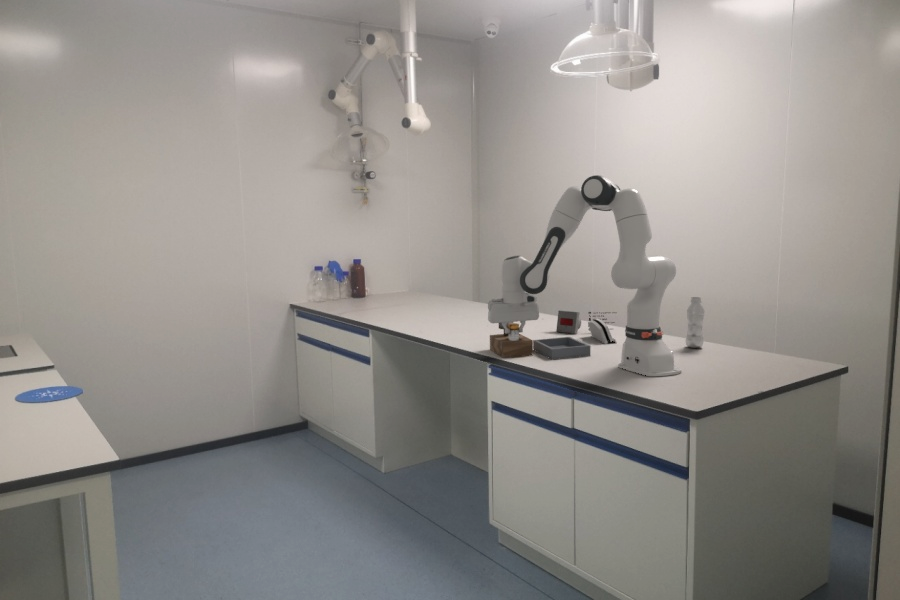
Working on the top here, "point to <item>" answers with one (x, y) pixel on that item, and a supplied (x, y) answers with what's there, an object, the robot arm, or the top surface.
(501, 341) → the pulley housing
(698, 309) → the plastic bottle
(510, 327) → the gold-capped glass vial
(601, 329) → the black-striped white block
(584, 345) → the tray
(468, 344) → the top surface
